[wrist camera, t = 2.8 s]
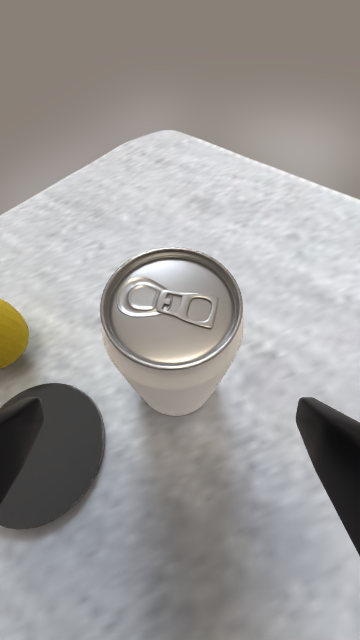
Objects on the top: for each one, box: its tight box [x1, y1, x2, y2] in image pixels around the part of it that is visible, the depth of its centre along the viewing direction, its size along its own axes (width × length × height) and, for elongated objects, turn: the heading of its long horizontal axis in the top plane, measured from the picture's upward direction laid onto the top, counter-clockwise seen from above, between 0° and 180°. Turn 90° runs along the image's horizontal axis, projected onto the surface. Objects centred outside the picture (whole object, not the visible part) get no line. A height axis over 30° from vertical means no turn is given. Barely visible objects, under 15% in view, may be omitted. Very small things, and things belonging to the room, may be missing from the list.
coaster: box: [0, 383, 105, 529], centre depth 17 cm, size 9×9×1 cm
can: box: [100, 247, 244, 416], centre depth 15 cm, size 6×6×12 cm
